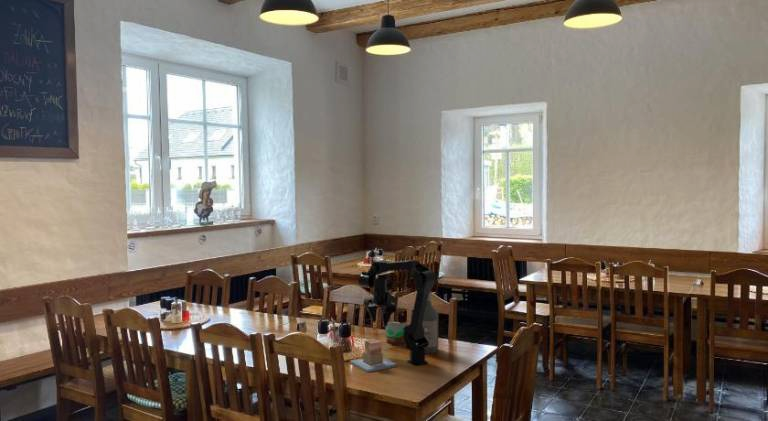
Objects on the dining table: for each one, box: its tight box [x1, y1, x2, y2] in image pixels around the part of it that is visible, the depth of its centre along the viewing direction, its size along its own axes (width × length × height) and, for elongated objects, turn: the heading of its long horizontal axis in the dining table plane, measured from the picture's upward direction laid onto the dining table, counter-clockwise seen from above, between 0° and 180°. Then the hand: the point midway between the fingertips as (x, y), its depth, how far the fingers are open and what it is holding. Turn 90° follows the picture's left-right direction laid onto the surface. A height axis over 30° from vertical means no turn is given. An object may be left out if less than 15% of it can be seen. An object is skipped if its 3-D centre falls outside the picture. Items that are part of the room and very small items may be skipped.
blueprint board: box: [349, 351, 397, 373], centre depth 251 cm, size 14×14×5 cm
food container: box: [384, 320, 409, 345], centre depth 283 cm, size 12×6×10 cm, turn 62°
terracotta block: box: [364, 338, 382, 355], centre depth 251 cm, size 5×5×5 cm
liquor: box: [416, 290, 439, 354], centre depth 270 cm, size 9×9×30 cm
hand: (379, 324), depth 266 cm, fingers open, 9 cm apart
